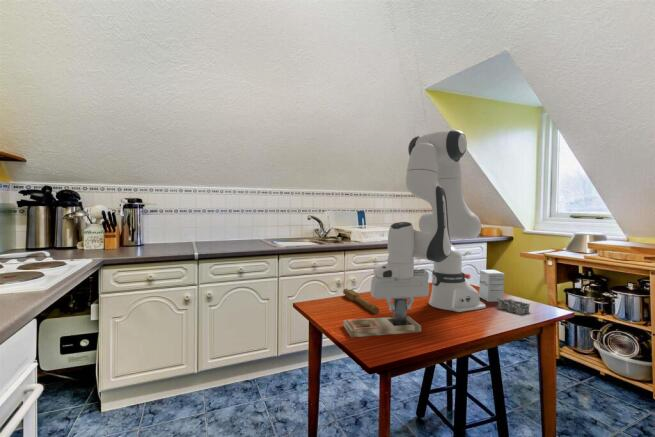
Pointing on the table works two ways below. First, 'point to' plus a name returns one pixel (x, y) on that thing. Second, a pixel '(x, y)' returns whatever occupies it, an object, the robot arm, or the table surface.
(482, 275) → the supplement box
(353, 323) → the beige flat frame
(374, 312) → the turned wooden spindle
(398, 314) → the steel peg
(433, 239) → the robot arm
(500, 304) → the egg carton
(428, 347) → the table surface
